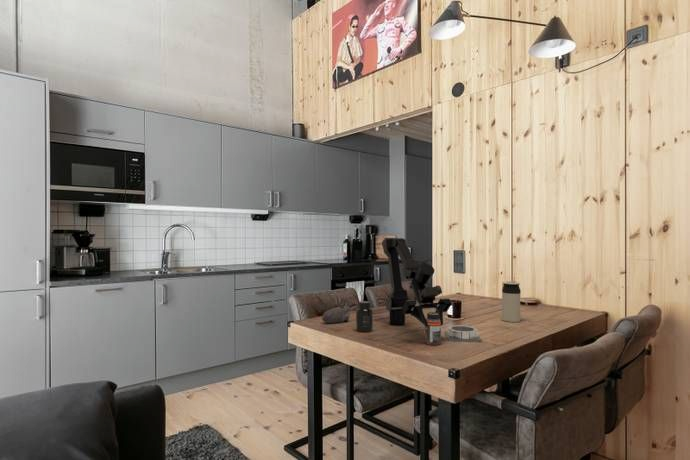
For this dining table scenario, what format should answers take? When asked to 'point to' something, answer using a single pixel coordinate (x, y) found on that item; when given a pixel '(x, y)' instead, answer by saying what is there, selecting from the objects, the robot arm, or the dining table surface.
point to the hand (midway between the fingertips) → (434, 325)
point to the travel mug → (511, 301)
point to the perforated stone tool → (336, 315)
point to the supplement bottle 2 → (433, 329)
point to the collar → (463, 333)
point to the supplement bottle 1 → (364, 317)
